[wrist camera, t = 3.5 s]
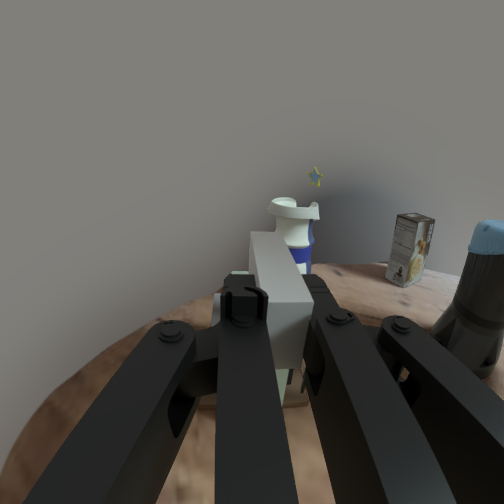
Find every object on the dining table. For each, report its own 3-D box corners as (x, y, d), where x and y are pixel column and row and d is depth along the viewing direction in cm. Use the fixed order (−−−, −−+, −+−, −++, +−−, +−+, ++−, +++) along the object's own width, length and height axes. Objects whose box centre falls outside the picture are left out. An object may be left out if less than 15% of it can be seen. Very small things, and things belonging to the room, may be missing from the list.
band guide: (307, 405, 30) (321, 354, 26) (198, 408, 29) (190, 356, 26) (288, 333, 44) (294, 284, 40) (206, 333, 43) (203, 284, 39)
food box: (402, 270, 67) (415, 212, 61) (421, 280, 62) (436, 219, 56) (383, 277, 63) (396, 213, 57) (403, 289, 57) (419, 222, 51)
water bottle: (273, 291, 56) (281, 162, 47) (313, 302, 53) (330, 168, 43) (253, 310, 49) (260, 165, 40) (299, 324, 46) (317, 171, 36)
